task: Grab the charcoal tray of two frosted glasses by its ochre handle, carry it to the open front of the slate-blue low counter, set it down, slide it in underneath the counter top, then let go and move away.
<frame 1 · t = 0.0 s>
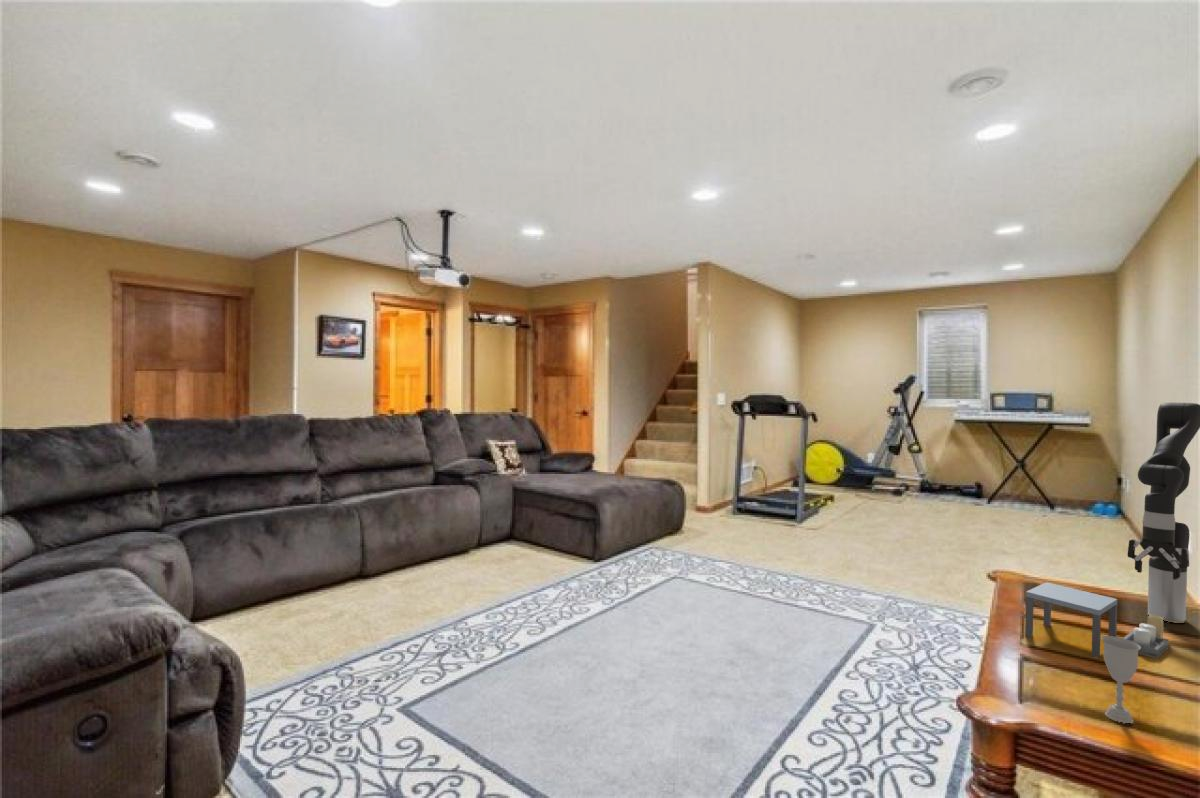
hand: (1156, 575, 186), 17 cm above the table, tool pointing down, fingers open, 8 cm apart
chalice: (1118, 718, 136), on the table
tray: (1144, 648, 172), on the table
counter: (1069, 639, 177), on the table
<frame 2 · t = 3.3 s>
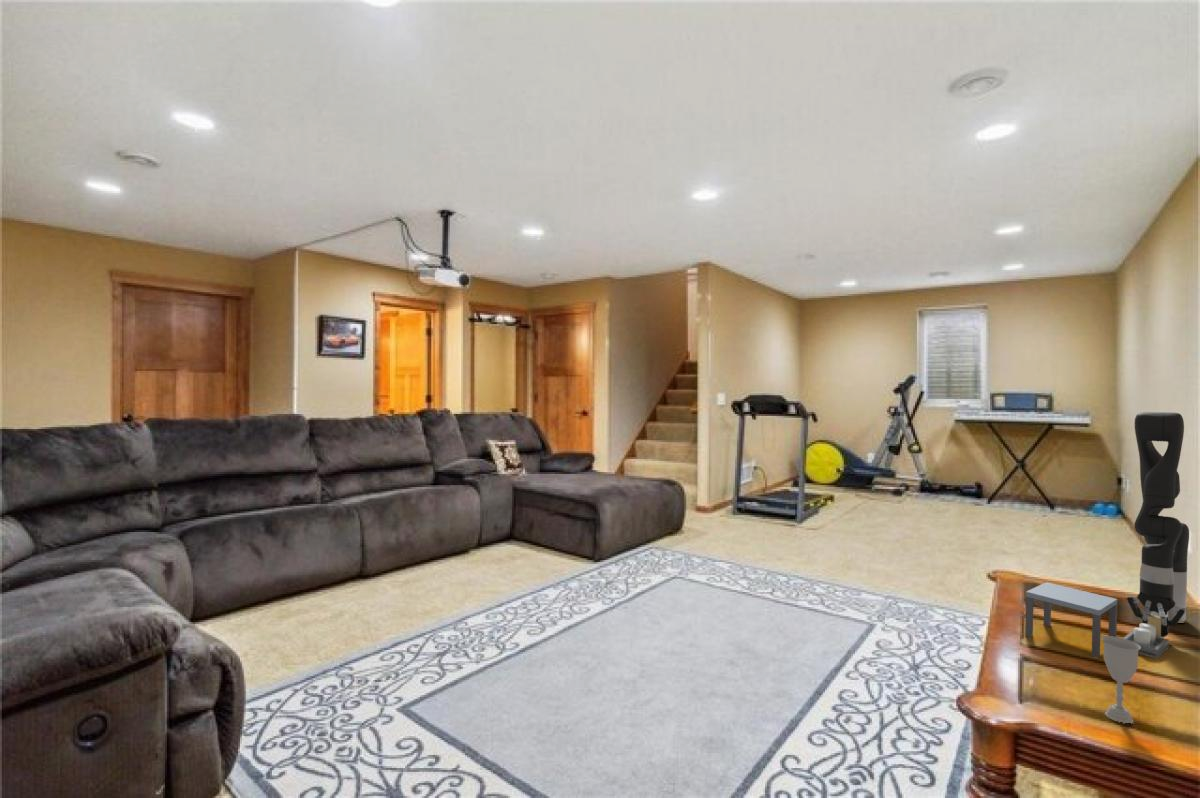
hand: (1155, 634, 178), 2 cm above the table, tool pointing down, fingers closed on tray, 3 cm apart
tray: (1144, 648, 172), on the table, touching gripper
everything else where it was.
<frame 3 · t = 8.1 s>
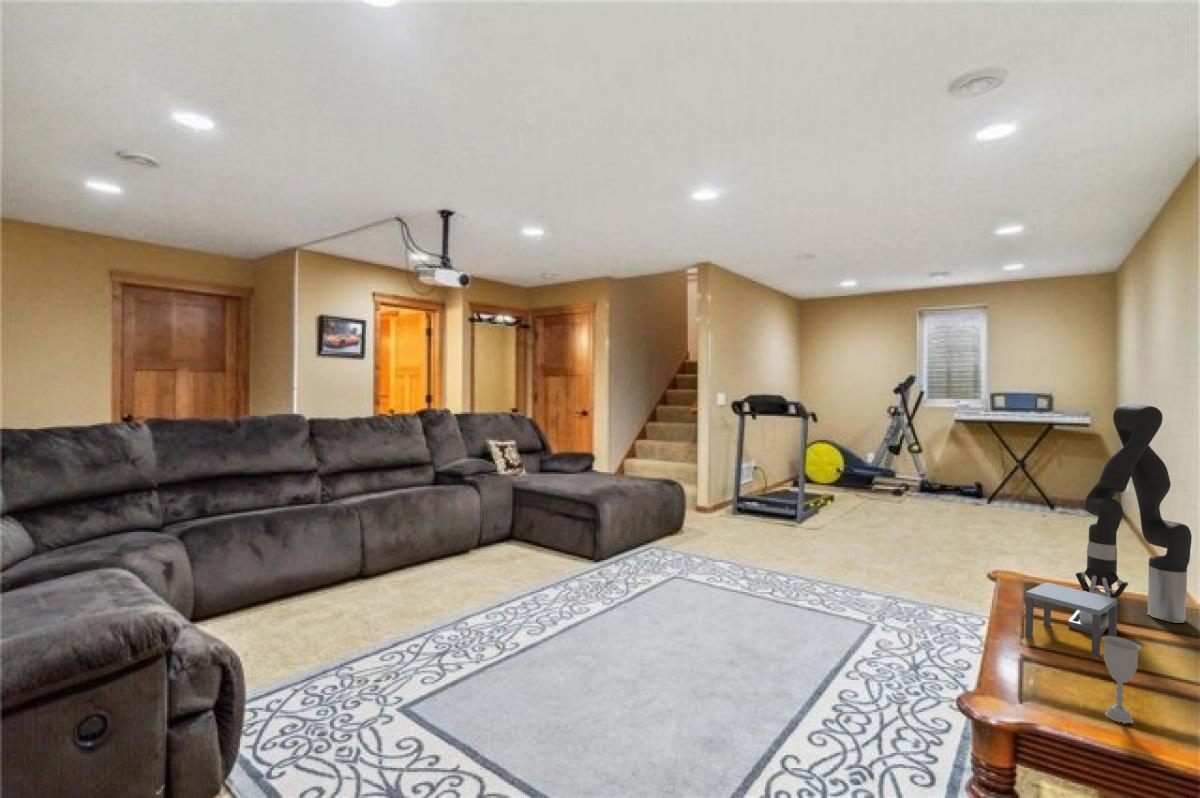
hand: (1100, 606, 192), 5 cm above the table, tool pointing down, fingers closed on tray, 3 cm apart
tray: (1090, 624, 187), point 1 cm above the table, tilted 12°, touching gripper
everything else where it was.
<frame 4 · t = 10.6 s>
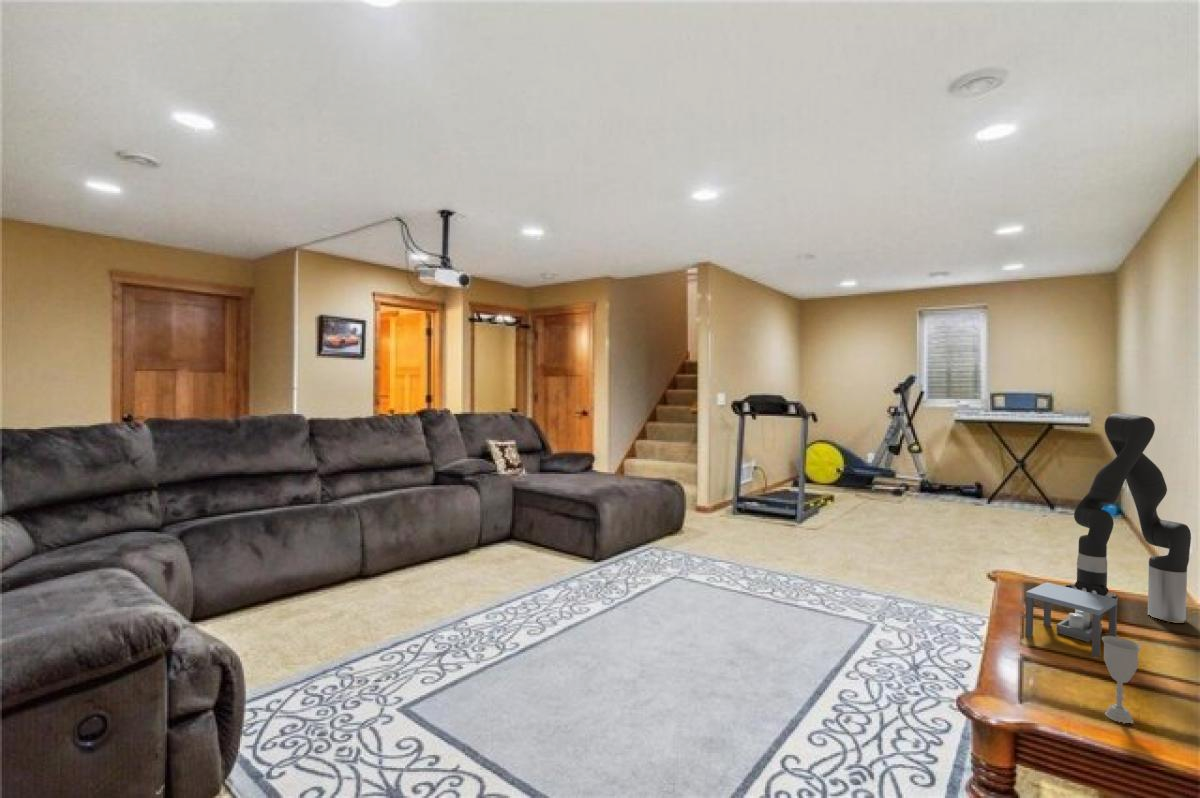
hand: (1090, 619, 188), 2 cm above the table, tool pointing down, fingers closed on tray, 3 cm apart
tray: (1079, 632, 182), on the table, touching gripper
everything else where it was.
when the fingers open (2 cm above the table, at t = 12.7 s): tray stays where it is, on the table.
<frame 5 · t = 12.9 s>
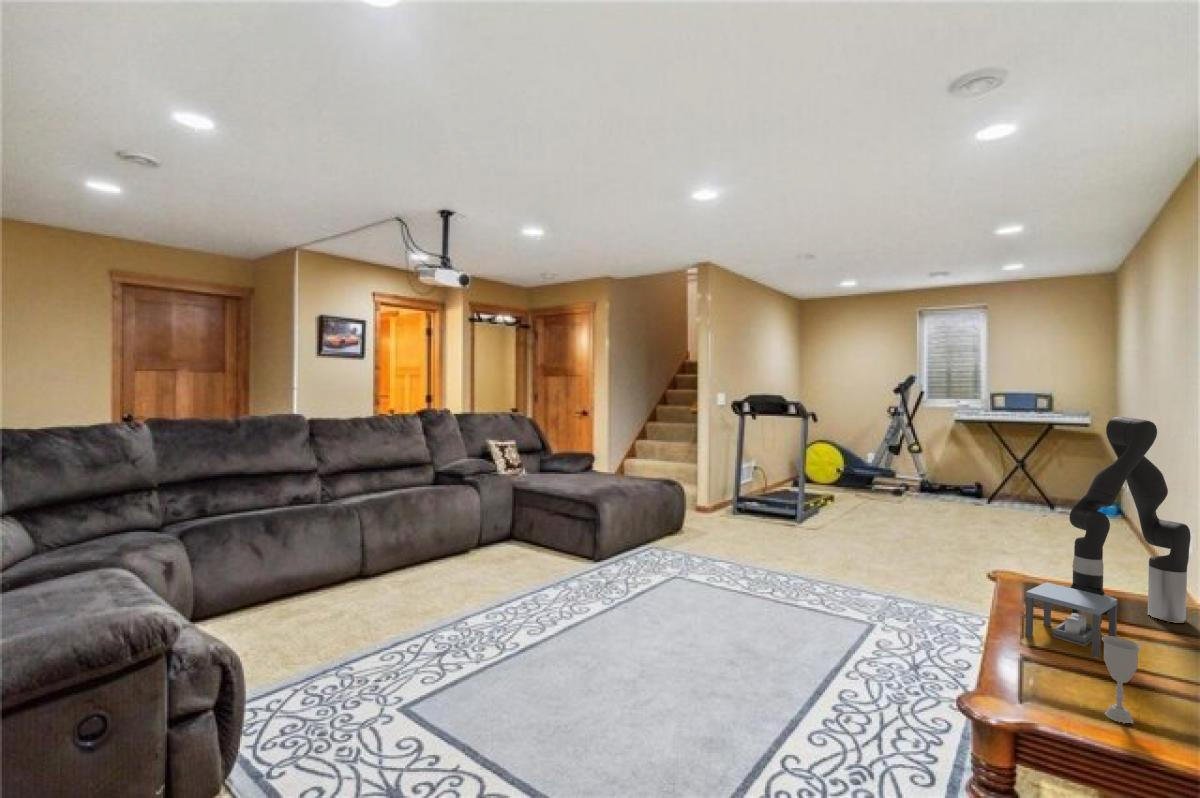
hand: (1086, 622, 185), 2 cm above the table, tool pointing down, fingers open, 4 cm apart
tray: (1075, 636, 180), on the table
everything else where it was.
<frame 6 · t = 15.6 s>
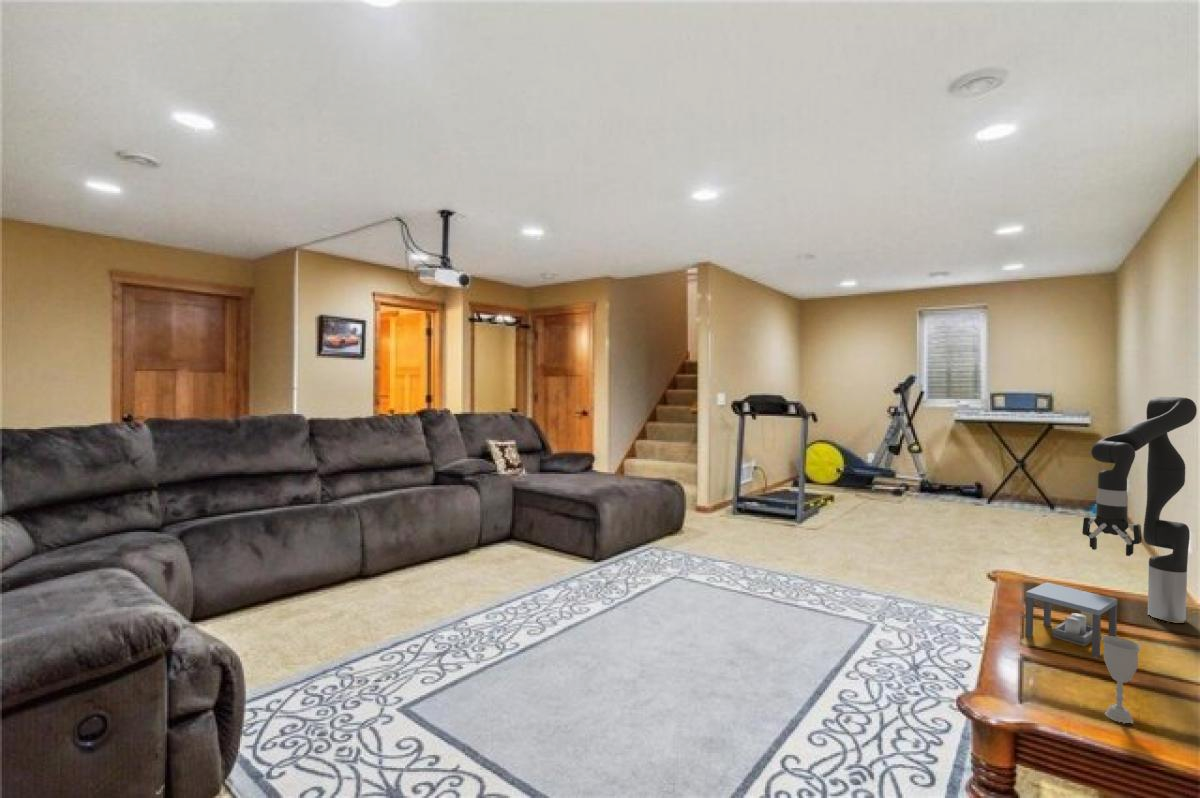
hand: (1110, 552, 186), 25 cm above the table, tool pointing down, fingers open, 8 cm apart
nothing on the table moved.
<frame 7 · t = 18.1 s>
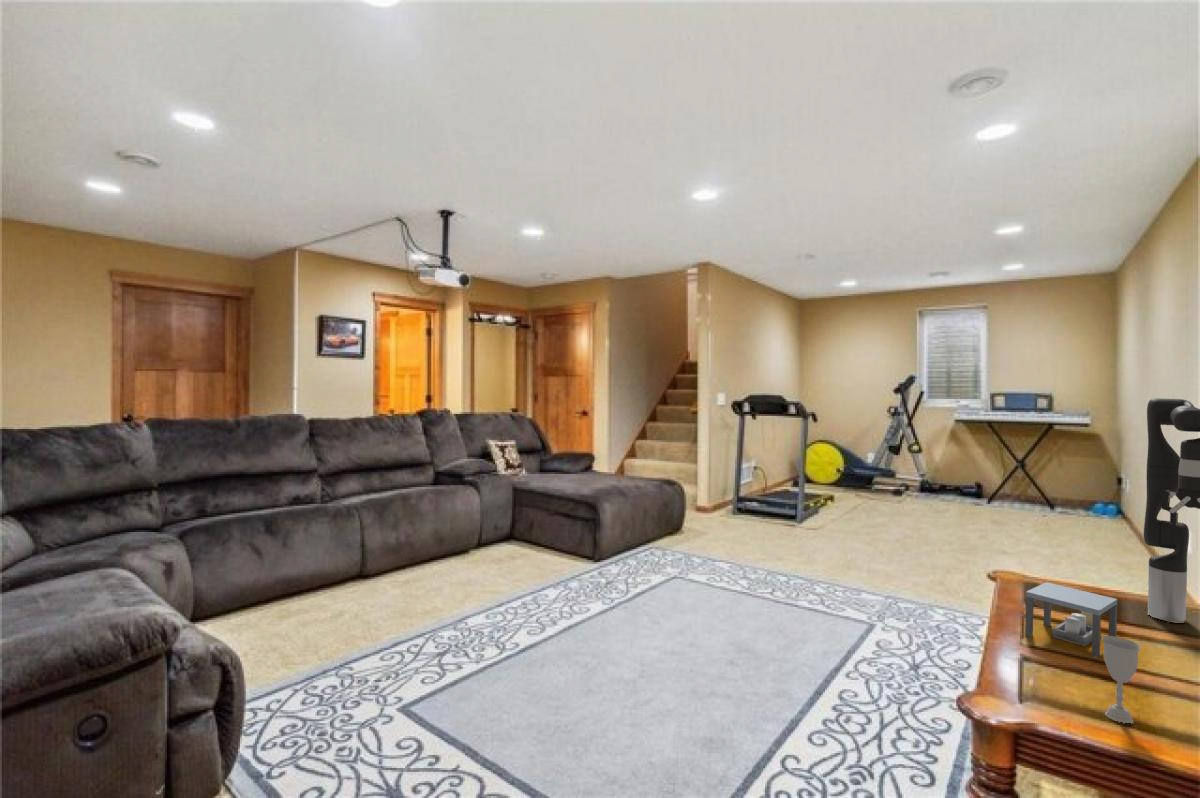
hand: (1194, 527, 173), 36 cm above the table, tool pointing down, fingers open, 8 cm apart
nothing on the table moved.
at the end: tray inside the target area (3.4 cm from its centre), on the table; tray tilted 0°; the gripper is holding nothing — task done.
